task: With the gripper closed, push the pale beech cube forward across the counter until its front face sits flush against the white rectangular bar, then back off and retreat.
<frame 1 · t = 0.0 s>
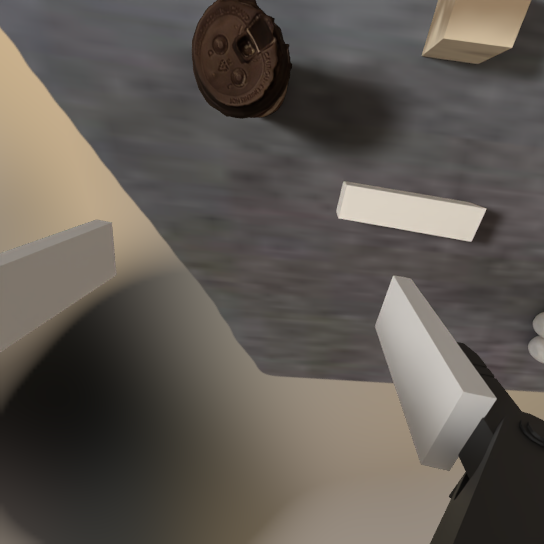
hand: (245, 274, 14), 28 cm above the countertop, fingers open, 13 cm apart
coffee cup: (262, 86, 35), on the countertop
block: (461, 25, 30), on the countertop
white rectangular bar: (400, 206, 38), on the countertop
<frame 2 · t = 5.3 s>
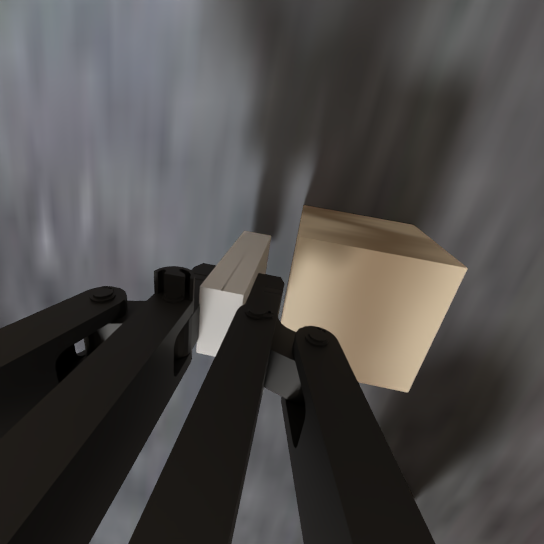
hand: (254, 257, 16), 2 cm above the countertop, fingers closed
block: (343, 264, 17), on the countertop, touching gripper
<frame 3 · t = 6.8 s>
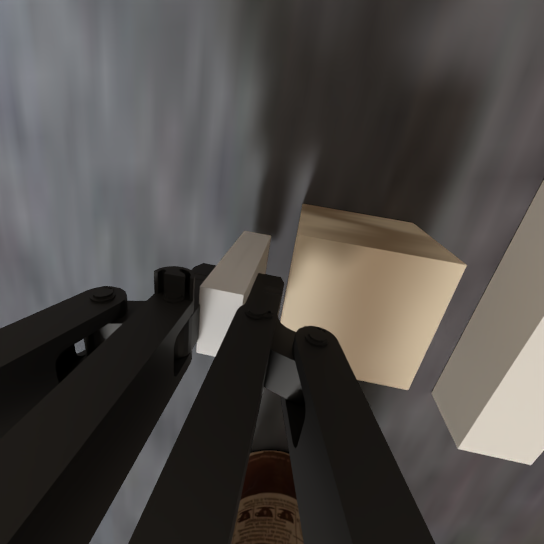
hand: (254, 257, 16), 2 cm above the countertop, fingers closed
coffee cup: (275, 467, 26), on the countertop
block: (343, 263, 17), on the countertop, touching gripper
white rectangular bar: (520, 298, 16), on the countertop
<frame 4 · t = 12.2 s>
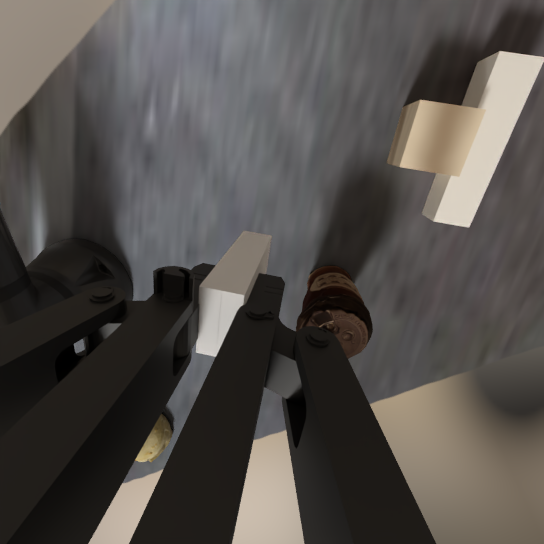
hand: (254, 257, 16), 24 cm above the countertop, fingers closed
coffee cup: (329, 282, 42), on the countertop
block: (420, 140, 34), on the countertop
white rectangular bar: (464, 148, 33), on the countertop
pastry: (146, 420, 61), on the countertop
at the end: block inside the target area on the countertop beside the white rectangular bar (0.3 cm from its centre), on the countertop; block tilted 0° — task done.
